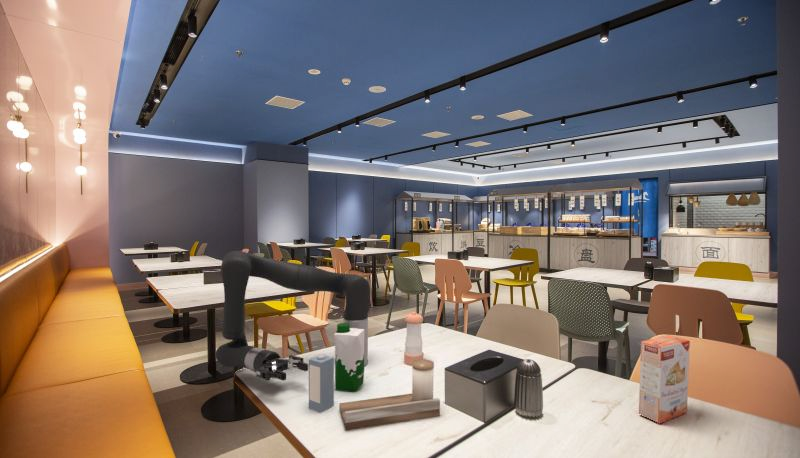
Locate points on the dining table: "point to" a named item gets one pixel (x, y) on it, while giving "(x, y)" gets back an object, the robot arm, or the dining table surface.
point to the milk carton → (349, 358)
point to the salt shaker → (413, 338)
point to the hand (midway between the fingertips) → (296, 372)
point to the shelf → (386, 411)
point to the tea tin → (321, 382)
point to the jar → (422, 380)
